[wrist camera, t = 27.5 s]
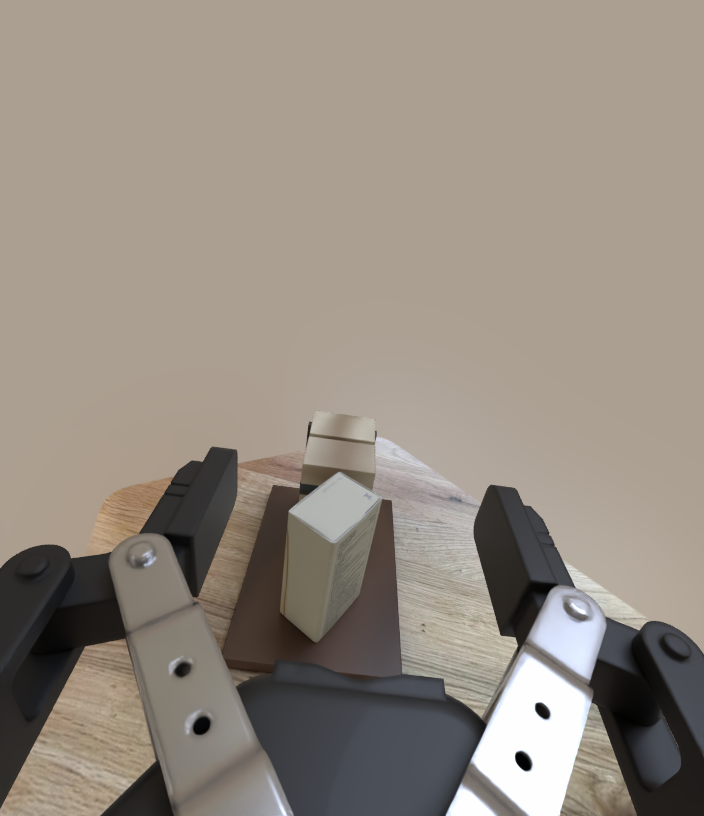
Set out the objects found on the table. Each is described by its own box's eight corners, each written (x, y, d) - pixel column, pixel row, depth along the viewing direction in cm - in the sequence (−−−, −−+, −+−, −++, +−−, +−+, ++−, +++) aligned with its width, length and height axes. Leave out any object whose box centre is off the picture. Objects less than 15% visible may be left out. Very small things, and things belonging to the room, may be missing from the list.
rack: (220, 667, 33) (216, 550, 26) (272, 492, 50) (278, 395, 43) (399, 688, 33) (440, 578, 27) (390, 507, 51) (413, 413, 44)
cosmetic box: (324, 568, 40) (339, 468, 34) (361, 596, 38) (385, 495, 32) (276, 614, 36) (284, 508, 30) (316, 648, 34) (334, 543, 28)
